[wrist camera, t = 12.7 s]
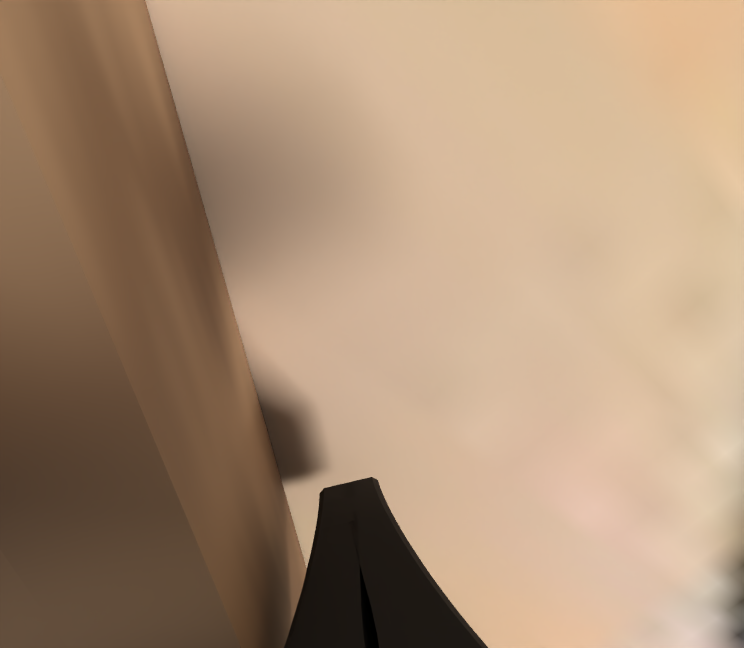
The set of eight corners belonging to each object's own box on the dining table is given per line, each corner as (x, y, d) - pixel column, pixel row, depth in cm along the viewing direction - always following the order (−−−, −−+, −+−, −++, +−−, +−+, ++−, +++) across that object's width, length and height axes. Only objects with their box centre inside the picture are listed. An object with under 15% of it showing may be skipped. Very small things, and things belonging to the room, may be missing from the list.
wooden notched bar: (344, 703, 16) (366, 945, 12) (184, 741, 16) (143, 1006, 11) (142, -10, 7) (-87, -131, 3) (-234, 38, 7) (-1167, -11, 2)
